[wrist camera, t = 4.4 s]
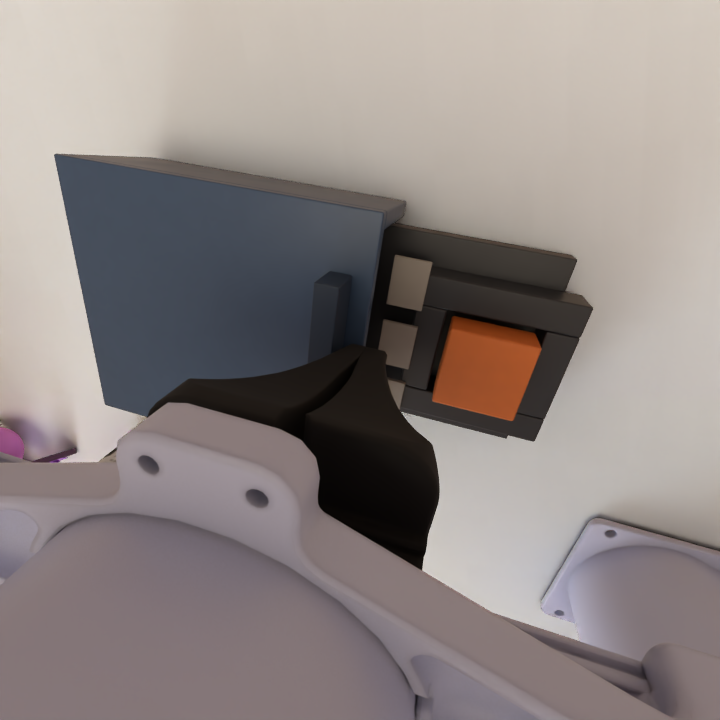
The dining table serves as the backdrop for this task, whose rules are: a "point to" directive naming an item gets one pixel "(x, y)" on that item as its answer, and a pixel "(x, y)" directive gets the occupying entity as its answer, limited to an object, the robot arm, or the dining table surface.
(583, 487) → the dining table surface
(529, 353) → the on key
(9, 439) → the purple piece
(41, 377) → the dining table surface
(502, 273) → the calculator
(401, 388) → the keypad
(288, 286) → the cover
